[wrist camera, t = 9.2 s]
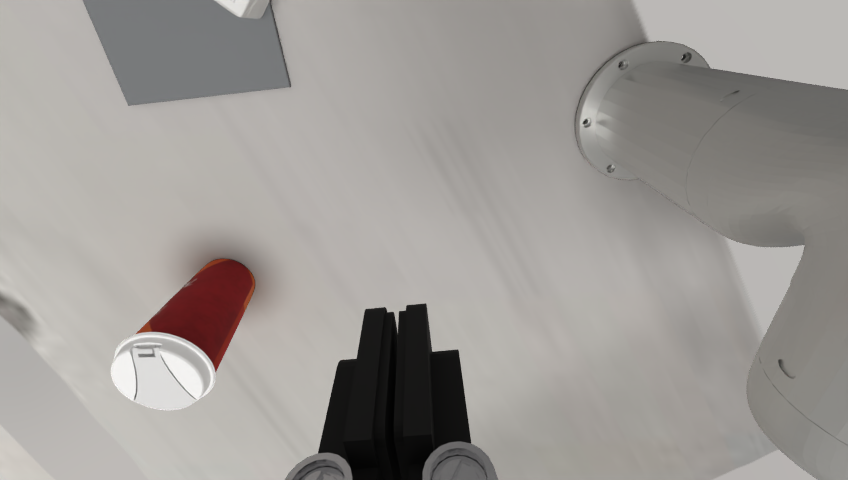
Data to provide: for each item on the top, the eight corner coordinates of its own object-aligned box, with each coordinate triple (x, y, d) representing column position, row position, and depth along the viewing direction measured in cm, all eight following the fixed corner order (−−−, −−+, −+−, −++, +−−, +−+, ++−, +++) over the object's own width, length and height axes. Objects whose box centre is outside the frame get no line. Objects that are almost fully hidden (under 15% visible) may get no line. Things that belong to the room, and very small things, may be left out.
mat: (242, -110, 31) (240, -112, 30) (290, 86, 37) (289, 87, 37) (49, -85, 31) (45, -87, 31) (131, 104, 38) (128, 105, 37)
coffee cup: (183, 249, 45) (87, 344, 32) (258, 249, 45) (194, 343, 32) (202, 310, 49) (124, 417, 36) (271, 309, 49) (219, 415, 36)
